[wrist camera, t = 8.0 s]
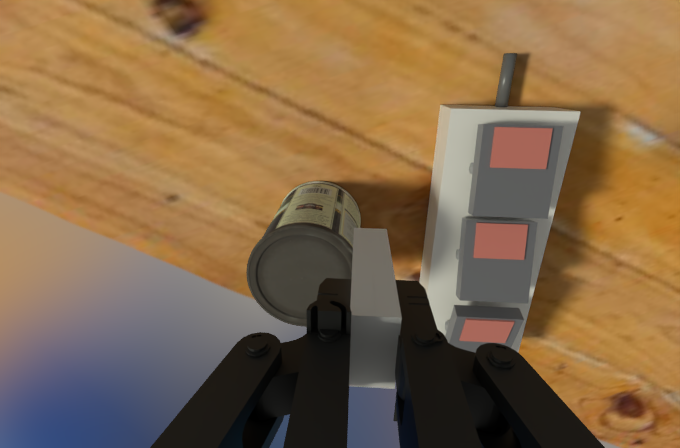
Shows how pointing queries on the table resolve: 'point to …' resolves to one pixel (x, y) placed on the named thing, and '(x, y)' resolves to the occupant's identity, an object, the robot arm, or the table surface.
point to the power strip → (455, 189)
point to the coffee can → (303, 249)
